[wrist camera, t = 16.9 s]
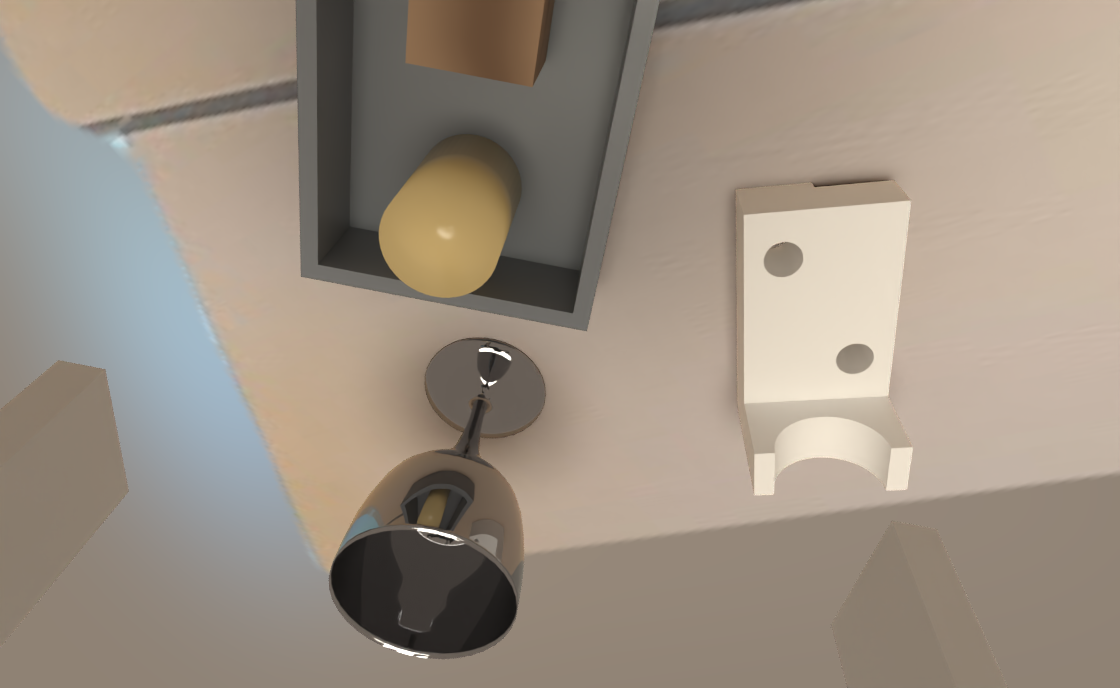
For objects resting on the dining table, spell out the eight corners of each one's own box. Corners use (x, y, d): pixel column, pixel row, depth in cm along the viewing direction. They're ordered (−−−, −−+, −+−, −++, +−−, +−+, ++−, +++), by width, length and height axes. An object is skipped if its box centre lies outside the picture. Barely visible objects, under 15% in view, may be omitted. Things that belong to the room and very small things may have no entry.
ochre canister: (417, 222, 38) (376, 285, 32) (424, 124, 35) (381, 174, 29) (514, 241, 38) (491, 307, 32) (528, 145, 35) (506, 198, 30)
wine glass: (475, 305, 41) (402, 497, 28) (580, 391, 43) (557, 604, 31) (390, 388, 44) (292, 592, 32) (493, 464, 47) (439, 682, 34)
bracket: (865, 397, 42) (906, 489, 36) (736, 403, 43) (754, 495, 37) (888, 173, 36) (943, 238, 29) (734, 187, 36) (755, 252, 30)
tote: (341, -167, 30) (292, -175, 26) (675, -101, 30) (681, -97, 26) (337, 233, 39) (300, 276, 35) (592, 282, 40) (586, 331, 35)
